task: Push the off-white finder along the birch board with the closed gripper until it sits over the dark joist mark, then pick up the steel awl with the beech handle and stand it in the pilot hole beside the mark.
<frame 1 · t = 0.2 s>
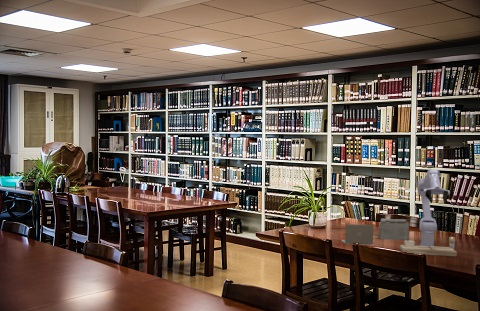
hand: (438, 202, 296), 31 cm above the table, tool tilted 45°, fingers open, 7 cm apart
finder: (409, 243, 312), point 4 cm above the table, slide at 0.0 cm
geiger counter: (390, 239, 347), on the table
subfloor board: (427, 252, 307), on the table
laptop: (356, 243, 334), on the table
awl: (451, 250, 315), on the table
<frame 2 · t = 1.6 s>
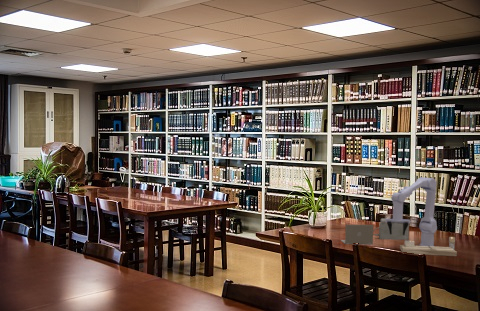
hand: (397, 234, 312), 10 cm above the table, tool pointing down, fingers open, 7 cm apart
nothing on the table moved.
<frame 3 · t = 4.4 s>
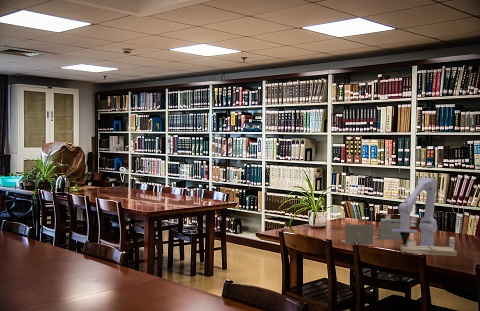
hand: (404, 244, 312), 3 cm above the table, tool pointing down, fingers closed
finder: (410, 243, 312), point 4 cm above the table, slide at 0.9 cm, touching gripper
everything else where it was.
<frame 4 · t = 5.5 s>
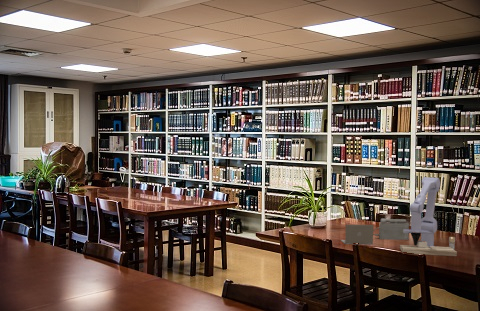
hand: (415, 245, 311), 3 cm above the table, tool pointing down, fingers closed
finder: (421, 243, 311), point 4 cm above the table, slide at 7.4 cm, touching gripper
everything else where it was.
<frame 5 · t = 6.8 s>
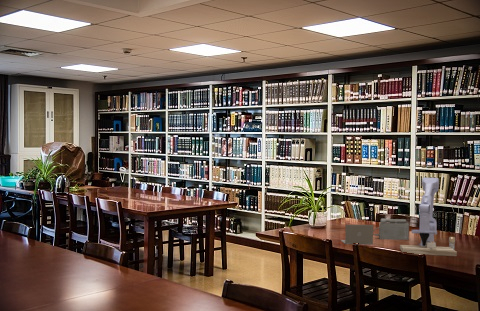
hand: (423, 245, 311), 3 cm above the table, tool pointing down, fingers closed
finder: (430, 244, 310), point 4 cm above the table, slide at 12.4 cm, touching gripper
everything else where it was.
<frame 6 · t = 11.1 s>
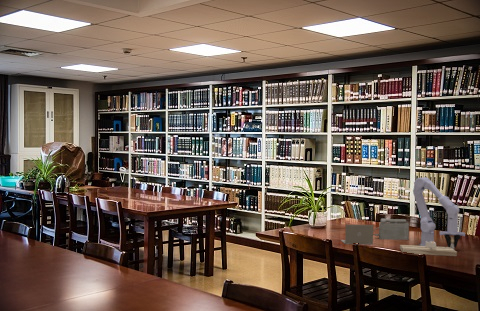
hand: (451, 247, 315), 2 cm above the table, tool pointing down, fingers closed on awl, 3 cm apart
finder: (430, 244, 310), point 4 cm above the table, slide at 12.5 cm
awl: (451, 250, 315), on the table, touching gripper
everything else where it was.
when the fingers open (3 cm above the table, at t = 15.0 s): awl drops 1 cm, resting in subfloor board.
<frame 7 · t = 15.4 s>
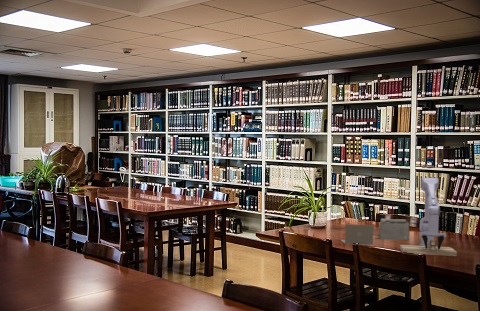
hand: (432, 248, 303), 3 cm above the table, tool pointing down, fingers open, 7 cm apart
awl: (432, 253, 303), resting in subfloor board
everything else where it was.
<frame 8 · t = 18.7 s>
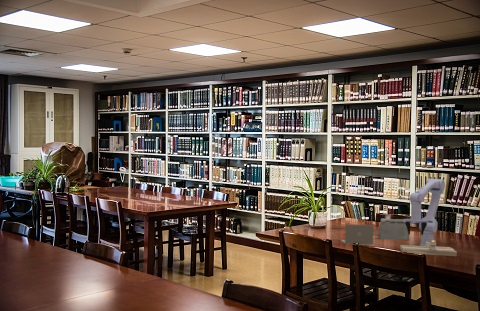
hand: (415, 234, 314), 9 cm above the table, tool pointing down, fingers open, 7 cm apart
nothing on the table moved.
at the end: finder slide at 12.5 cm; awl 0.1 cm from the target spot on the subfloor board, point 0.0 cm above the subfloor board's base; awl tilted 0° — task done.
